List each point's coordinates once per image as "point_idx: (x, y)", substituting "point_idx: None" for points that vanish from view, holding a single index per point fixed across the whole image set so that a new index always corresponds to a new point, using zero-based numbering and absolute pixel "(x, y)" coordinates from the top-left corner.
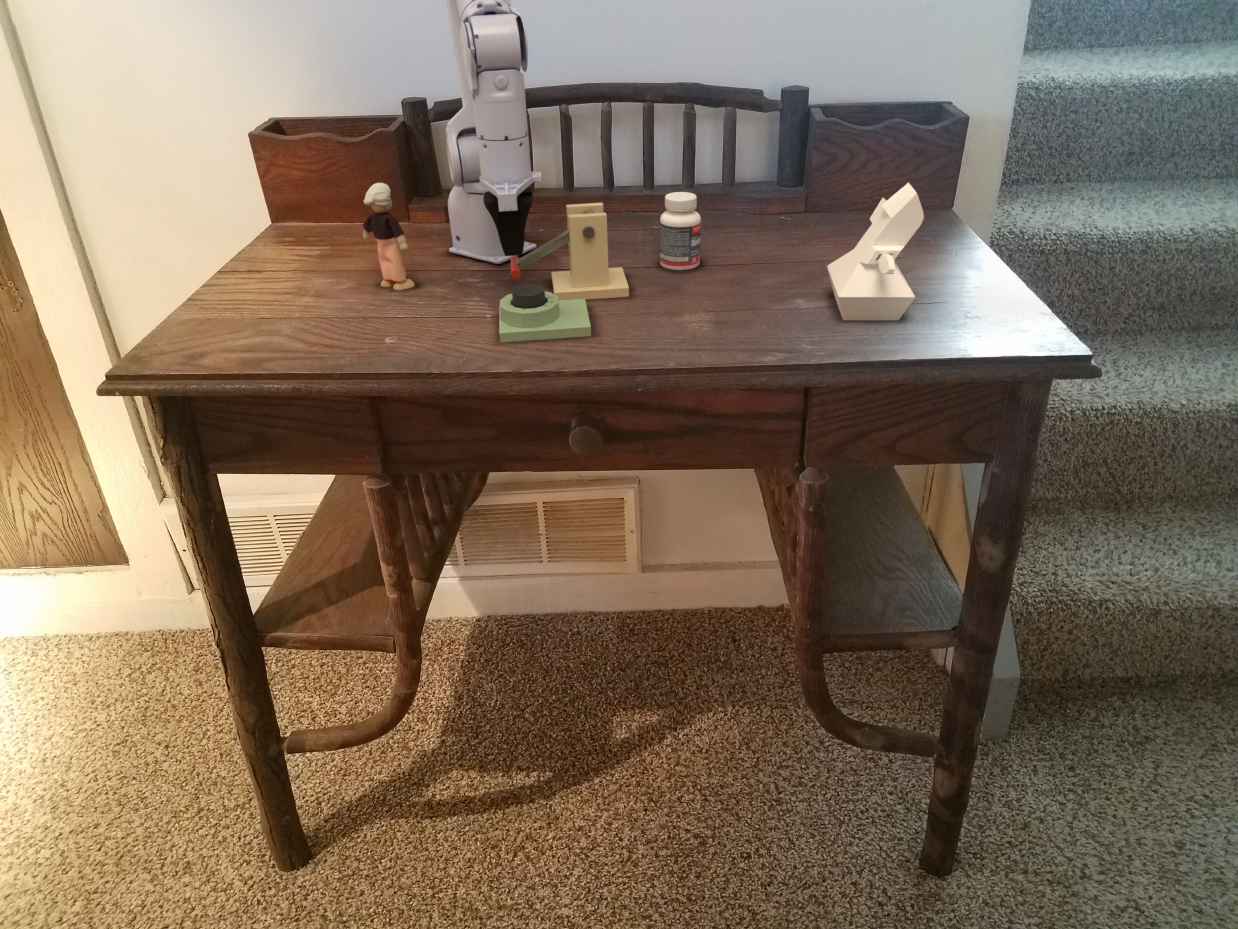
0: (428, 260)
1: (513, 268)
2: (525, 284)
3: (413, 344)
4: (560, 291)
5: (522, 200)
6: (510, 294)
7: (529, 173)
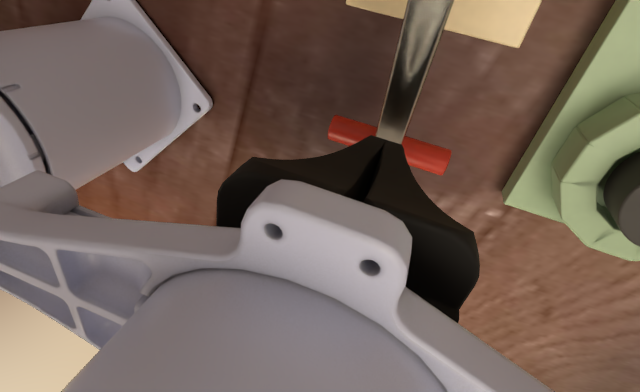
0: (170, 207)
1: (426, 167)
2: (633, 204)
3: (536, 345)
4: (524, 25)
5: (441, 283)
6: (567, 213)
7: (385, 360)
